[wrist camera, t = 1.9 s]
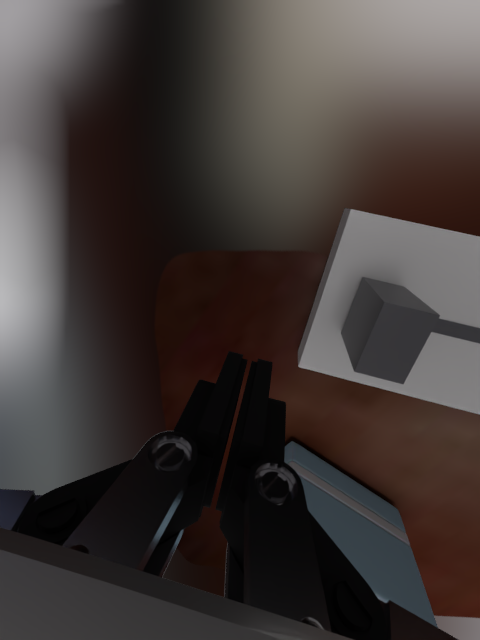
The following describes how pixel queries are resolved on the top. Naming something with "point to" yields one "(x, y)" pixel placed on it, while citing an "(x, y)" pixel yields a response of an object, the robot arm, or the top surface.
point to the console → (419, 278)
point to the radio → (362, 531)
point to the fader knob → (386, 330)
